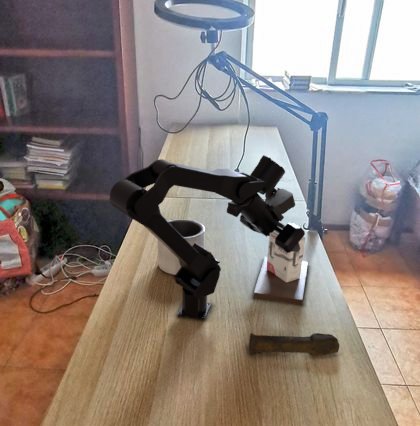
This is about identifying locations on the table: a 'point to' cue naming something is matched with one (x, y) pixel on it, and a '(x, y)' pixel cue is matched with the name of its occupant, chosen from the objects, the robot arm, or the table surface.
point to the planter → (190, 232)
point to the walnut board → (280, 286)
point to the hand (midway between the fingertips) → (286, 243)
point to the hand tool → (295, 344)
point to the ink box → (284, 260)
